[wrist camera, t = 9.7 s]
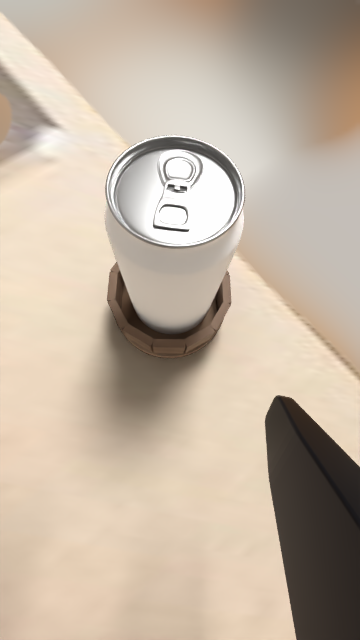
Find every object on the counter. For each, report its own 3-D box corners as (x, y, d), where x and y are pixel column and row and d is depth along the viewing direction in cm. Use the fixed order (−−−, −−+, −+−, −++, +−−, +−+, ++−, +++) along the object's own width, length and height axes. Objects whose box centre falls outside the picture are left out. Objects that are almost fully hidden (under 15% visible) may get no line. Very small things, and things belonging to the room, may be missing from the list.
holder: (244, 324, 22) (257, 311, 19) (146, 379, 21) (142, 375, 17) (189, 240, 25) (192, 215, 21) (96, 283, 23) (84, 264, 20)
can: (212, 269, 23) (257, 137, 11) (206, 340, 21) (253, 267, 9) (139, 260, 23) (111, 118, 11) (126, 331, 21) (76, 245, 9)
